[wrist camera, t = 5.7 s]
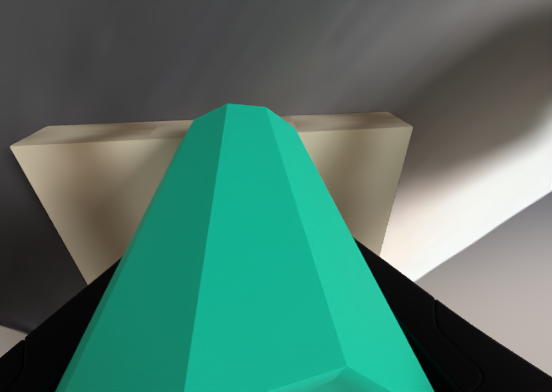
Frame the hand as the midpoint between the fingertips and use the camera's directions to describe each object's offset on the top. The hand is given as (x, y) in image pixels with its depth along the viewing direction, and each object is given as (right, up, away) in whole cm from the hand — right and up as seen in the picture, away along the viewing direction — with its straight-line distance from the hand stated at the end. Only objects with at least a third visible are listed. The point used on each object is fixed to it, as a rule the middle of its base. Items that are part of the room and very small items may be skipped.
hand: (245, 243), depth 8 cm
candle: (-1, +3, +4) cm, 5 cm away
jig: (-2, -1, +12) cm, 12 cm away
